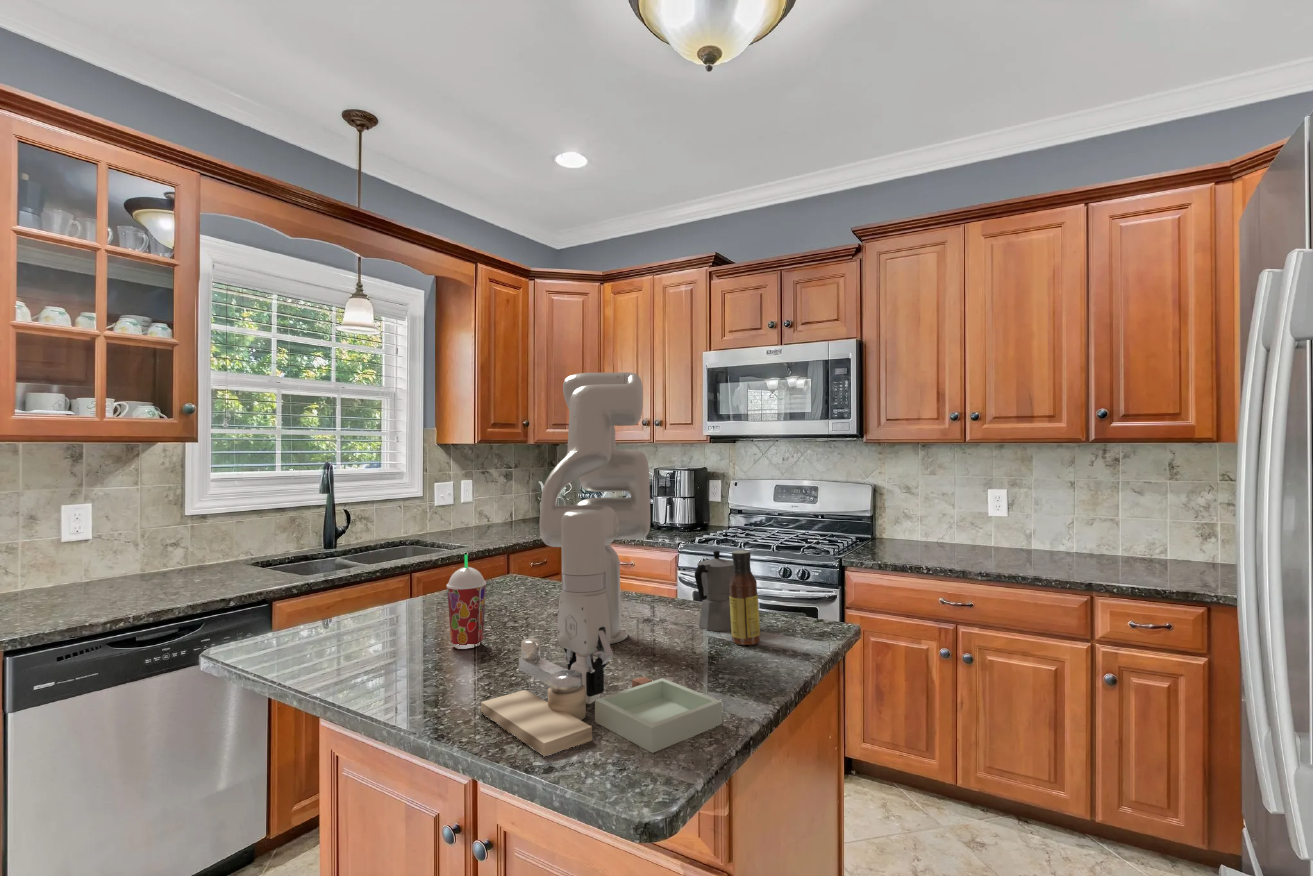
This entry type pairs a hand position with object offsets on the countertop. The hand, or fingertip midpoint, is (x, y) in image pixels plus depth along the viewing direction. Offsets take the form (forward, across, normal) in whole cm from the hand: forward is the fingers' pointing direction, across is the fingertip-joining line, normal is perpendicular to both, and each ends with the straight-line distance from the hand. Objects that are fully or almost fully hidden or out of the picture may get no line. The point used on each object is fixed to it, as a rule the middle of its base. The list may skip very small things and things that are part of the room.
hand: (585, 688), depth 111 cm
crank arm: (-3, -2, -6) cm, 7 cm away
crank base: (+2, +4, -3) cm, 5 cm away
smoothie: (+2, -44, -2) cm, 44 cm away
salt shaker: (+2, 0, 0) cm, 2 cm away
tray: (+2, +16, +3) cm, 16 cm away
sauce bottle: (+2, -4, +44) cm, 44 cm away
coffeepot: (+2, -16, +48) cm, 51 cm away
